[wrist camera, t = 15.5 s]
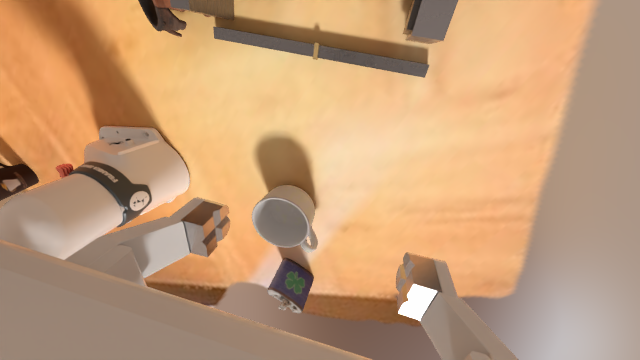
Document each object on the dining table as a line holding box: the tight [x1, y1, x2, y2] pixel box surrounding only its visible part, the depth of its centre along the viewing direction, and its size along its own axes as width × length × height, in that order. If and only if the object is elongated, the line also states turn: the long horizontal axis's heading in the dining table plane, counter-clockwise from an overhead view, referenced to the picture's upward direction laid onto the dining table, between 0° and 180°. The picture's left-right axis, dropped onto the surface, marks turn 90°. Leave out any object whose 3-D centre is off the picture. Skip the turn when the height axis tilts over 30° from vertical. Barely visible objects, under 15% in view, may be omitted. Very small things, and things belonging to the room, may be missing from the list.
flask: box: [268, 258, 314, 313], centre depth 52 cm, size 9×3×11 cm, turn 56°
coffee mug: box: [0, 163, 39, 201], centre depth 63 cm, size 12×9×10 cm
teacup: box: [252, 185, 318, 252], centre depth 44 cm, size 14×11×8 cm
